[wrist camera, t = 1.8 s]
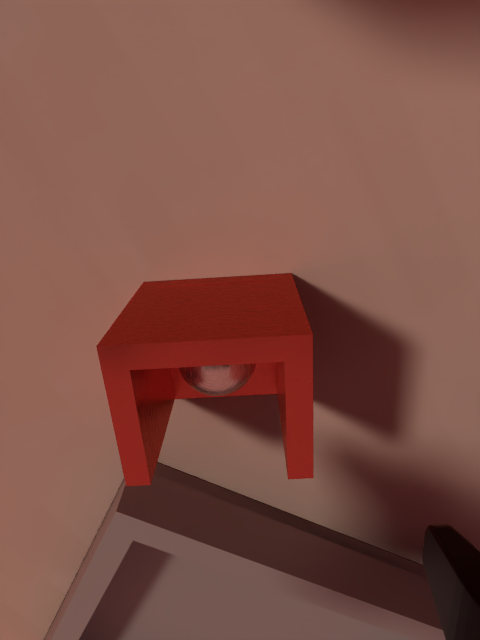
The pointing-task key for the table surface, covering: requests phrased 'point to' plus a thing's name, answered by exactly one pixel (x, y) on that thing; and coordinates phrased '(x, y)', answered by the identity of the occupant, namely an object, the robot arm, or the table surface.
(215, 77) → the table surface
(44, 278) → the table surface
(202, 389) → the steel ball
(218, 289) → the red arch stool
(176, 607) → the slate tray
